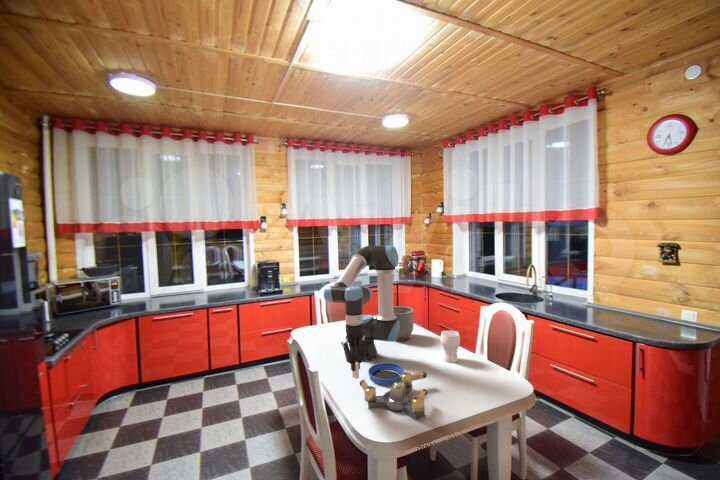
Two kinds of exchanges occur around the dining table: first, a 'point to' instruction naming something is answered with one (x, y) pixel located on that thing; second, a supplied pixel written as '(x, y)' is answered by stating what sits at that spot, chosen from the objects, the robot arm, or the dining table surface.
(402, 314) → the planter
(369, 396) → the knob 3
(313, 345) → the dining table surface
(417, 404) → the brass lever handle
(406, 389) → the tribrach
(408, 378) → the brass tap handle
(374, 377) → the bowl
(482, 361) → the dining table surface
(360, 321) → the robot arm
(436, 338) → the dining table surface
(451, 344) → the cup
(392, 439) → the dining table surface
